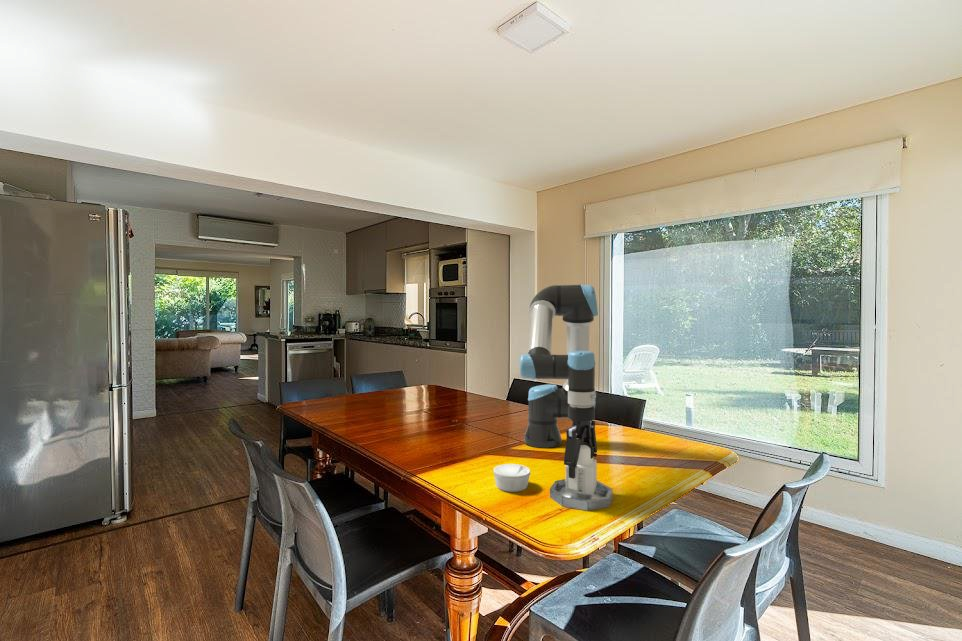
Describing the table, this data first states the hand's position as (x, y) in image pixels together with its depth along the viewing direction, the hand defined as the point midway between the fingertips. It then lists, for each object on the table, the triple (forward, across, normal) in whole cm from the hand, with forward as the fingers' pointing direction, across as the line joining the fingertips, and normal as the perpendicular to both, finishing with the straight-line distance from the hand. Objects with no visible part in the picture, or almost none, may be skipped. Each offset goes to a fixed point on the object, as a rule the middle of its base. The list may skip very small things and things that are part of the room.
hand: (581, 483), depth 130 cm
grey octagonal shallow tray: (+4, 0, 0) cm, 4 cm away
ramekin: (+4, -6, +20) cm, 21 cm away
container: (+2, 0, 0) cm, 2 cm away
